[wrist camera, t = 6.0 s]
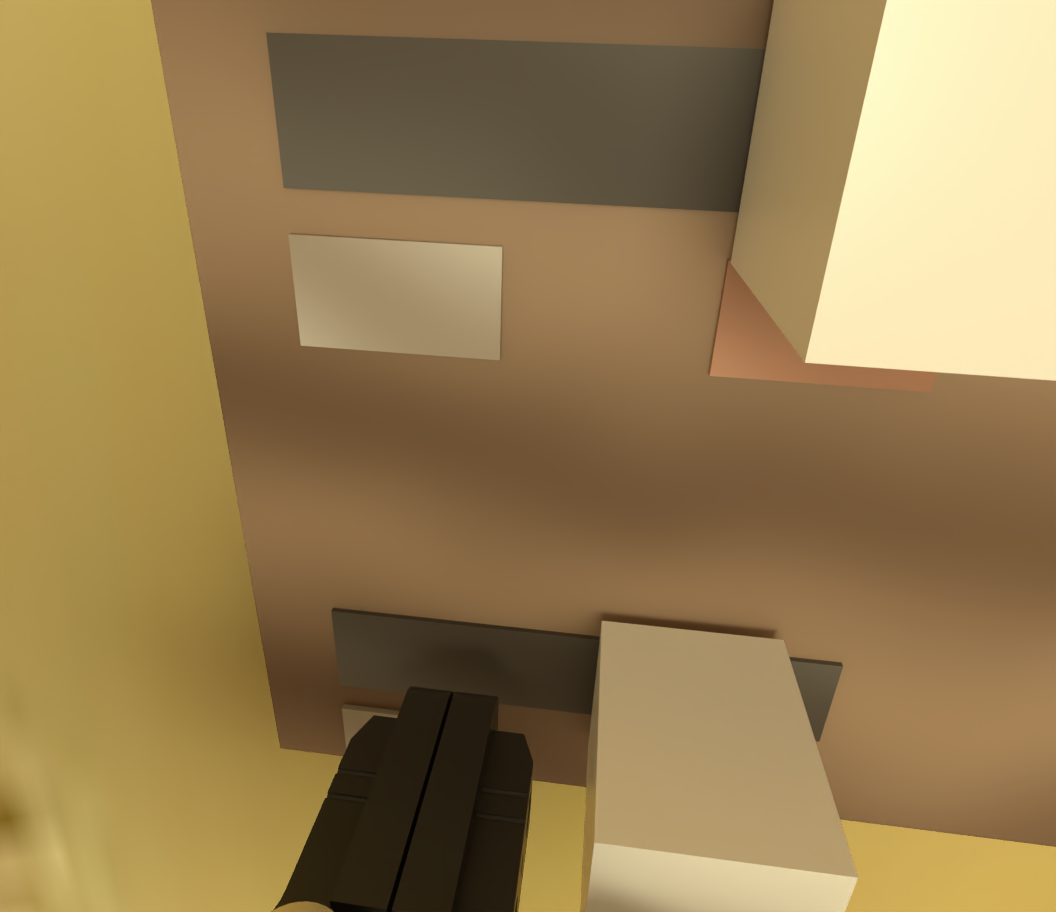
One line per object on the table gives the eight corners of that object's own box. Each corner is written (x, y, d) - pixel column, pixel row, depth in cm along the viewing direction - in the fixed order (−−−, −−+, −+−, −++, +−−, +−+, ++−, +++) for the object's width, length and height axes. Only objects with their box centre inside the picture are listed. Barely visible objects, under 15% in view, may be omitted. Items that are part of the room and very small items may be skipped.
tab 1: (601, 620, 12) (594, 842, 8) (783, 640, 11) (858, 877, 8) (588, 746, 13) (576, 984, 9) (750, 765, 13) (802, 1017, 9)
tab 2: (776, -16, 8) (916, -129, 4) (1067, -9, 7) (1492, -123, 4) (730, 262, 9) (804, 362, 5) (975, 277, 9) (1222, 393, 5)
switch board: (210, -132, 10) (111, -193, 8) (1688, -115, 8) (2017, -186, 6) (317, 682, 16) (278, 756, 14) (1132, 778, 15) (1208, 875, 13)
